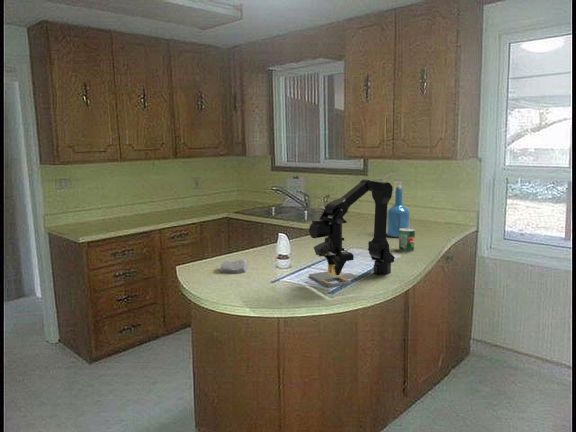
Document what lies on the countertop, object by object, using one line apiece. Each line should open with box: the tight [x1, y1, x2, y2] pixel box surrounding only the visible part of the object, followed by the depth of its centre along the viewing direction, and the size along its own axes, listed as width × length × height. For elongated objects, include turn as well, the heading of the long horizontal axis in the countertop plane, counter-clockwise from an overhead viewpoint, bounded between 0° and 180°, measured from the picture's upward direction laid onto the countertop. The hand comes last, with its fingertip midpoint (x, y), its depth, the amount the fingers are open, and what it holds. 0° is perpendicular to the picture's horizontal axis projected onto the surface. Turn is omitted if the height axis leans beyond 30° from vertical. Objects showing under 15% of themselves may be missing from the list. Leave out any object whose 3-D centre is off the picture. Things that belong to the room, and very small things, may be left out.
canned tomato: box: [398, 227, 416, 253], centre depth 243 cm, size 8×8×11 cm
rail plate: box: [308, 270, 352, 289], centre depth 191 cm, size 10×17×2 cm, turn 24°
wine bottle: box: [386, 185, 411, 238], centre depth 278 cm, size 14×13×30 cm
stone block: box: [220, 259, 248, 274], centre depth 212 cm, size 12×5×10 cm
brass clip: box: [327, 264, 343, 277], centre depth 186 cm, size 4×4×4 cm
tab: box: [341, 272, 359, 280], centre depth 196 cm, size 6×7×1 cm
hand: (334, 273), depth 186 cm, fingers closed on brass clip, 4 cm apart
